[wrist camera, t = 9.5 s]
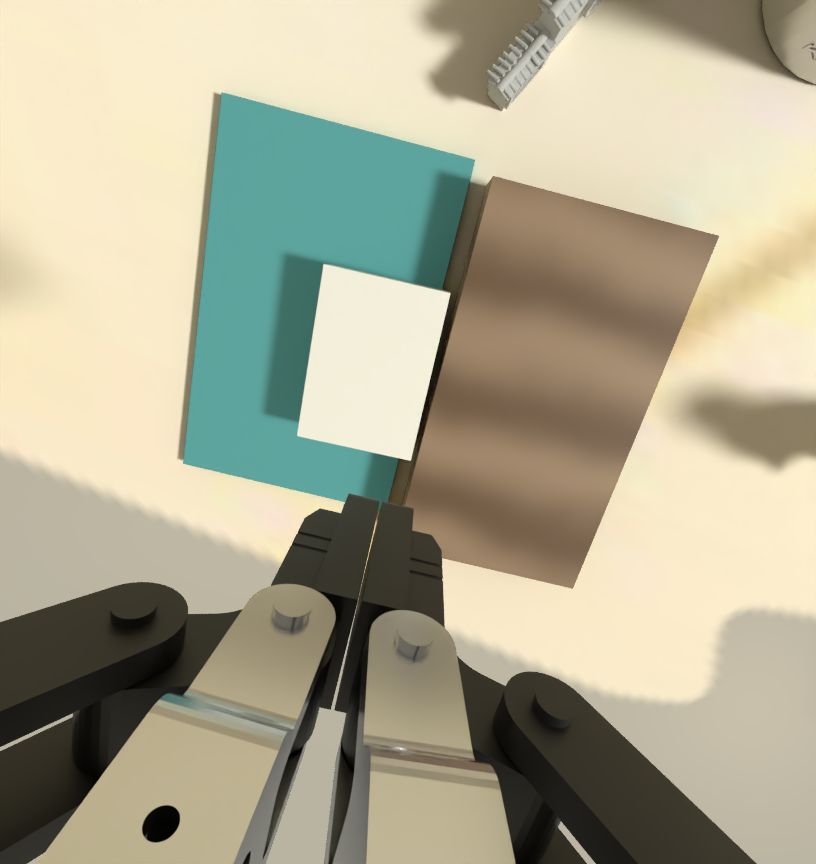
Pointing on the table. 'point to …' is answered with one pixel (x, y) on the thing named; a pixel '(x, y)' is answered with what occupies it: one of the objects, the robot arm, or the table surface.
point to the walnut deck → (547, 376)
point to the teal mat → (302, 280)
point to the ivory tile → (370, 361)
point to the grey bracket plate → (534, 48)
